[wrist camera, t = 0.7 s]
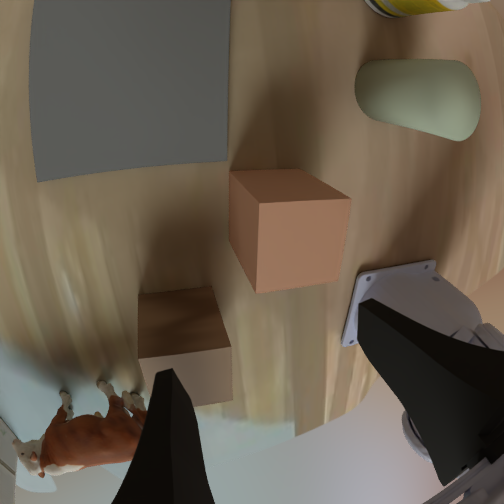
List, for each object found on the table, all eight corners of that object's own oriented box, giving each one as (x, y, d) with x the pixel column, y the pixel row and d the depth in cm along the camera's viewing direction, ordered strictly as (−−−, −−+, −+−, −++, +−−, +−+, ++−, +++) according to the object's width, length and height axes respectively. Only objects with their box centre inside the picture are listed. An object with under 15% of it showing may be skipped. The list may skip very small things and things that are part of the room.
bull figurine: (15, 389, 21) (1, 462, 14) (141, 369, 23) (148, 457, 16) (40, 416, 23) (32, 485, 16) (158, 399, 25) (170, 479, 18)
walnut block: (211, 285, 21) (231, 346, 16) (214, 339, 24) (232, 400, 19) (138, 294, 20) (138, 358, 15) (150, 347, 22) (155, 411, 17)
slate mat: (229, -20, 13) (231, -23, 12) (225, 158, 18) (227, 160, 17) (38, 1, 10) (34, -2, 9) (40, 179, 15) (37, 182, 14)
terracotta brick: (299, 168, 19) (351, 198, 14) (294, 234, 21) (338, 280, 16) (228, 170, 18) (259, 203, 13) (228, 240, 20) (255, 293, 15)
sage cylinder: (405, 67, 18) (482, 73, 12) (401, 124, 20) (476, 145, 14) (355, 54, 16) (434, 50, 11) (352, 117, 19) (429, 135, 13)
